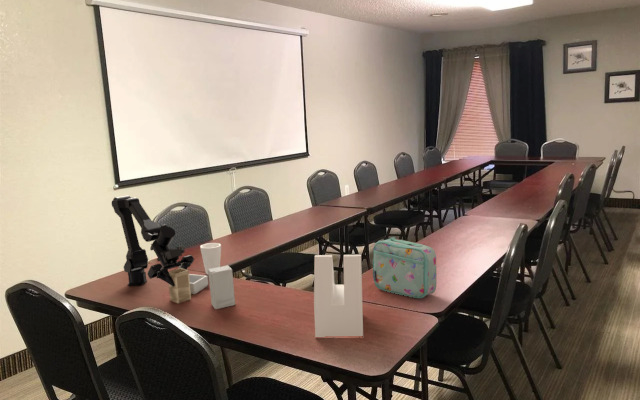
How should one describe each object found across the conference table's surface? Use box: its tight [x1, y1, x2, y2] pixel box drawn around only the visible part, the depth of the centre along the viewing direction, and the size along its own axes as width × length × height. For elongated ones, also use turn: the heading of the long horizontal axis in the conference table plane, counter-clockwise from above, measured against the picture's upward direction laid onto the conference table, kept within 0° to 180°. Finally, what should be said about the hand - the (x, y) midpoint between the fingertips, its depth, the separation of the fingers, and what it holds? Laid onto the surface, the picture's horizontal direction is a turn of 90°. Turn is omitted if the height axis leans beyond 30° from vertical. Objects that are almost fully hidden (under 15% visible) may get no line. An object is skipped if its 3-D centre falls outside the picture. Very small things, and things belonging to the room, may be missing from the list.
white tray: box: [189, 273, 209, 295], centre depth 215 cm, size 10×10×4 cm
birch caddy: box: [168, 267, 192, 304], centre depth 202 cm, size 6×6×12 cm
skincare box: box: [207, 264, 236, 310], centre depth 194 cm, size 8×6×15 cm
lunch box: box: [371, 236, 437, 299], centre depth 200 cm, size 27×10×21 cm, turn 47°
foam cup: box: [199, 242, 222, 276], centre depth 235 cm, size 10×9×13 cm
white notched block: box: [313, 254, 364, 337], centre depth 171 cm, size 19×15×25 cm
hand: (181, 283), depth 201 cm, fingers closed on birch caddy, 6 cm apart
